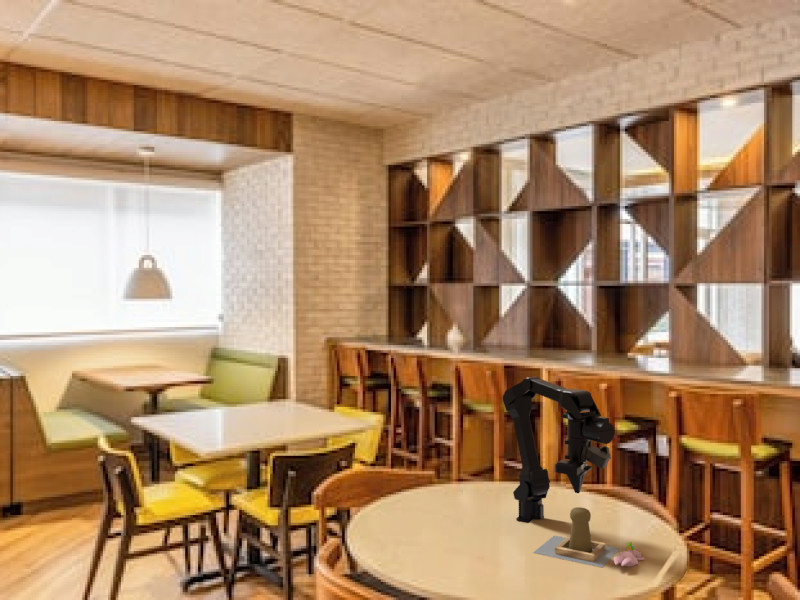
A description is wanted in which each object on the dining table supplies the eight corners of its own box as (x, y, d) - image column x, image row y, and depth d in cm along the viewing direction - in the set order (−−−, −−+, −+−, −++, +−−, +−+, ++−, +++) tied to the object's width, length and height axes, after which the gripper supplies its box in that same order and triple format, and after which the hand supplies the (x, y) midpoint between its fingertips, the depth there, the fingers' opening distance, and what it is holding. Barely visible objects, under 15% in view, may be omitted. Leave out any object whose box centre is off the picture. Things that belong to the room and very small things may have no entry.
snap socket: (554, 553, 175) (554, 547, 175) (568, 541, 183) (568, 536, 183) (593, 561, 169) (593, 555, 169) (605, 549, 177) (605, 543, 177)
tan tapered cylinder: (593, 556, 173) (593, 512, 172) (569, 554, 174) (568, 511, 174) (591, 547, 178) (591, 505, 178) (567, 546, 180) (567, 504, 180)
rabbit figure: (624, 559, 176) (605, 569, 164) (625, 536, 177) (606, 543, 165) (649, 565, 173) (632, 575, 161) (649, 540, 174) (633, 549, 161)
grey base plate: (532, 556, 175) (532, 552, 175) (554, 539, 188) (554, 535, 188) (602, 571, 165) (602, 567, 165) (620, 552, 178) (620, 548, 178)
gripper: (595, 447, 176) (594, 507, 176) (618, 434, 191) (617, 489, 191) (554, 441, 182) (553, 499, 182) (579, 429, 197) (579, 482, 198)
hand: (577, 492), depth 188 cm, fingers closed
